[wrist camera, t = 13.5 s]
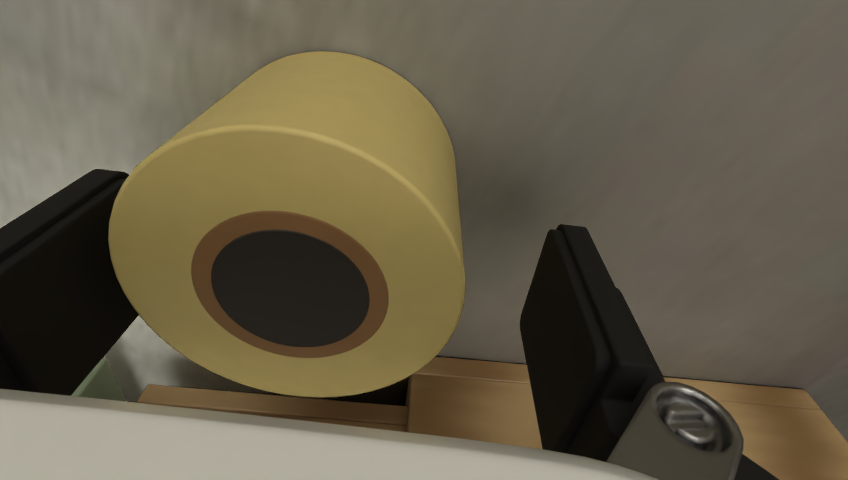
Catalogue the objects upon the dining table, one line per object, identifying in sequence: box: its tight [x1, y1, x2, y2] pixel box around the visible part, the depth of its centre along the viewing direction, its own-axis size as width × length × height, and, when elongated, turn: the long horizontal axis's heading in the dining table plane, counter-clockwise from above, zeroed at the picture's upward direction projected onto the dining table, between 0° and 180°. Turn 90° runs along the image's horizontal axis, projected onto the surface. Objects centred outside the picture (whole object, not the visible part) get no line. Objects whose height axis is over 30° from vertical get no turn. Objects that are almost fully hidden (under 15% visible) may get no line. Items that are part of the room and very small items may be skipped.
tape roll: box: [108, 51, 465, 398], centre depth 10 cm, size 7×7×5 cm
